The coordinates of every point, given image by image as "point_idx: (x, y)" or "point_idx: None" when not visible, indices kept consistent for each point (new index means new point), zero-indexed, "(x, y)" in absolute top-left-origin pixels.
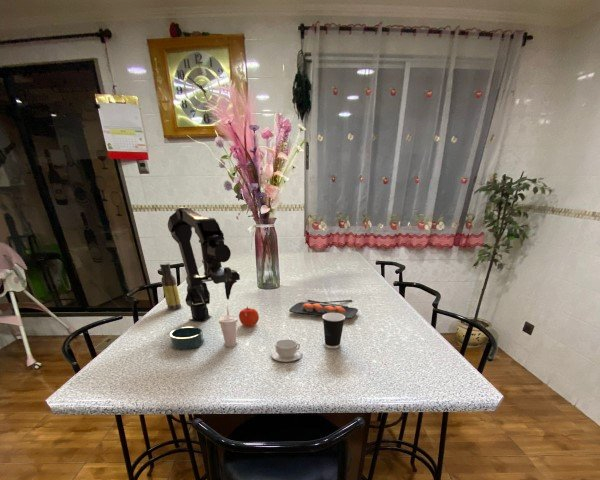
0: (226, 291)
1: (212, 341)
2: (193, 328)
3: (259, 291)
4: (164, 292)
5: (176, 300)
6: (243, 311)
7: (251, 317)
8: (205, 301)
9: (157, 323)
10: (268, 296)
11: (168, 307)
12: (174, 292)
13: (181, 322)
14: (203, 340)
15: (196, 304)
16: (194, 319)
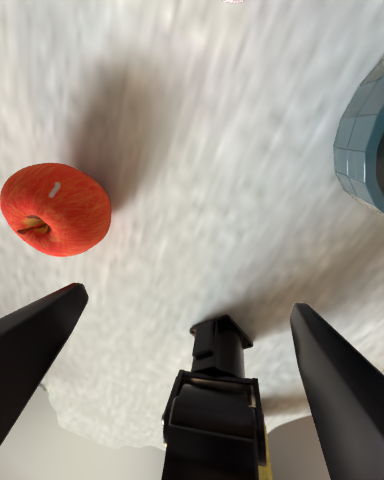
0: (32, 357)
1: (299, 93)
2: (379, 194)
3: (44, 377)
4: (272, 476)
5: None
6: (59, 214)
7: (42, 167)
8: (302, 316)
9: None
10: None
11: (263, 417)
12: None
13: (285, 340)
14: (362, 85)
15: (231, 383)
16: (244, 334)
